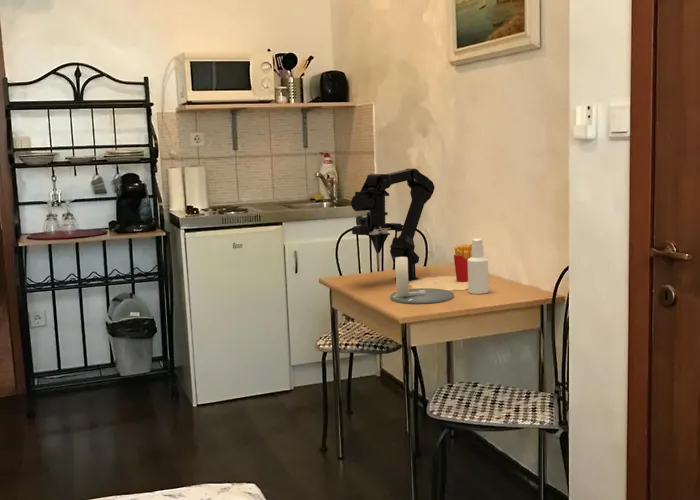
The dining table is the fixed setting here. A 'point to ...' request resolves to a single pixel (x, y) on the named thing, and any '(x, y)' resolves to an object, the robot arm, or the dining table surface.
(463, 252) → the french fries
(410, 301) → the grey round platter
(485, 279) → the spray bottle
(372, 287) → the dining table surface
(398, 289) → the tall cream cylinder
